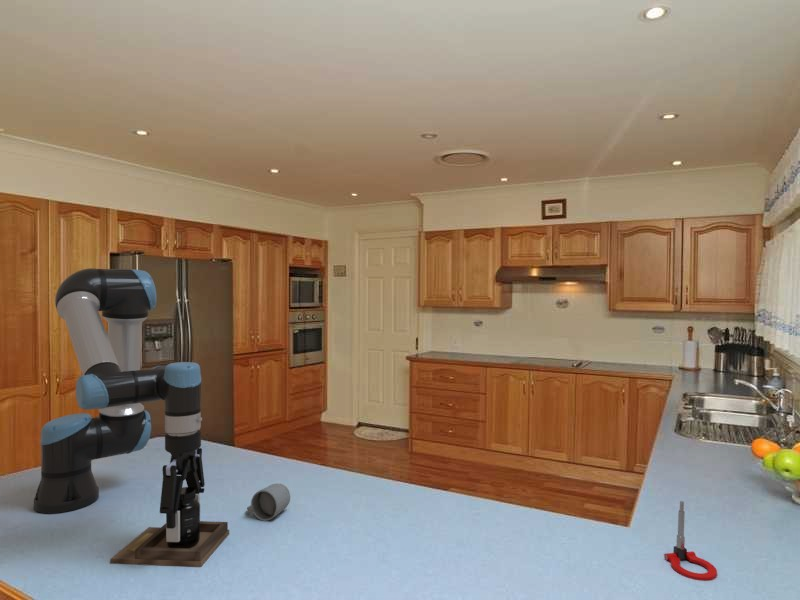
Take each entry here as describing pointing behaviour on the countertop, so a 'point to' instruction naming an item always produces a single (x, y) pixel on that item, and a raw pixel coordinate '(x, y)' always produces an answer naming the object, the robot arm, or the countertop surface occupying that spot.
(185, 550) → the framed wooden board
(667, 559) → the tow hook
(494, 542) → the countertop surface
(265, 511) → the ceramic mug
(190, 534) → the supplement bottle
